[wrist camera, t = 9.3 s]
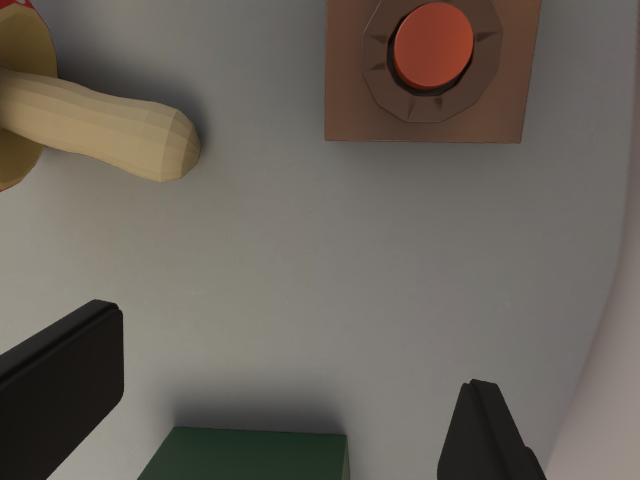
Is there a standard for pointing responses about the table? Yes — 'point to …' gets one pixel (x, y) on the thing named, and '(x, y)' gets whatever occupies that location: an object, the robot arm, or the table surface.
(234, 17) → the table surface
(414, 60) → the button
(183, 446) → the camp stove
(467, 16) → the block
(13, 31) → the decorative mushroom
